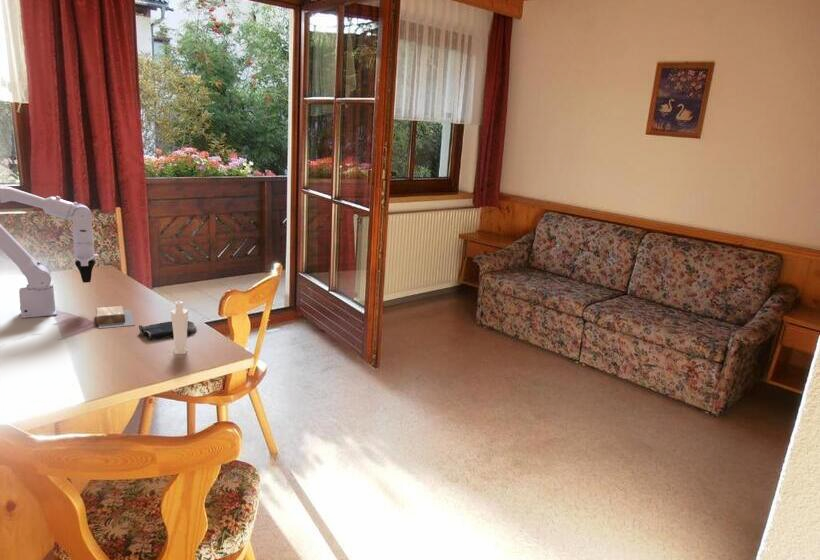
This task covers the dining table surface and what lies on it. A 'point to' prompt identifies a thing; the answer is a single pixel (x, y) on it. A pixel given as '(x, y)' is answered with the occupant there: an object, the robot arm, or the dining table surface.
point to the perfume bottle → (180, 328)
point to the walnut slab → (110, 315)
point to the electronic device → (163, 330)
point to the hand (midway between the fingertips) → (86, 281)
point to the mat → (128, 322)
